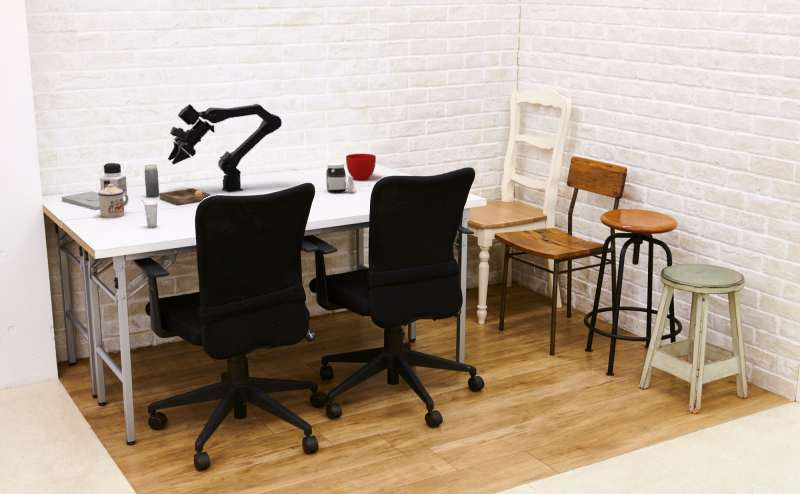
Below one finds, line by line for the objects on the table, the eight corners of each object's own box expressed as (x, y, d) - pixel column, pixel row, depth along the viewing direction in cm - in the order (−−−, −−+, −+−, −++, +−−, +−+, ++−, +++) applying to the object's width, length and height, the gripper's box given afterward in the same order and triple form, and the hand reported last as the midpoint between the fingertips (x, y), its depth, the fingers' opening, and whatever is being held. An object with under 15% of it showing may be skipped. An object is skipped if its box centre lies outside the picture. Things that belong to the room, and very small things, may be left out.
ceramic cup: (381, 174, 460) (381, 152, 458) (371, 182, 444) (371, 159, 442) (353, 173, 463) (353, 151, 460) (342, 181, 447) (342, 158, 445)
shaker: (155, 194, 421) (153, 164, 418) (161, 196, 417) (159, 165, 414) (143, 196, 418) (141, 165, 415) (149, 198, 414) (147, 167, 411)
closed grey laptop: (96, 212, 394) (126, 206, 404) (95, 206, 394) (126, 200, 404) (62, 201, 410) (92, 195, 419) (61, 196, 409) (92, 190, 419)
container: (118, 197, 416) (116, 165, 412) (101, 196, 417) (98, 164, 414) (127, 193, 423) (125, 162, 419) (109, 192, 424) (107, 161, 421)
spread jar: (324, 189, 431) (324, 161, 428) (351, 188, 433) (351, 160, 430) (330, 195, 419) (329, 167, 416) (357, 194, 422) (357, 165, 419)
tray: (192, 194, 421) (192, 188, 421) (210, 200, 411) (210, 194, 410) (159, 199, 413) (159, 193, 412) (177, 205, 402) (176, 199, 401)
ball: (200, 197, 413) (200, 189, 412) (204, 198, 411) (203, 190, 410) (193, 198, 411) (192, 190, 410) (197, 199, 409) (196, 191, 408)
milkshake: (144, 224, 372) (142, 197, 369) (159, 224, 372) (157, 197, 370) (142, 227, 368) (140, 200, 365) (157, 227, 368) (156, 199, 365)
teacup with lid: (109, 219, 380) (107, 188, 377) (94, 215, 386) (92, 184, 383) (136, 213, 389) (134, 182, 386) (121, 209, 395) (119, 179, 392)
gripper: (177, 116, 423) (151, 144, 422) (186, 122, 406) (159, 152, 405) (197, 134, 428) (172, 162, 427) (206, 141, 411) (180, 170, 410)
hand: (170, 161), depth 417 cm, fingers open, 9 cm apart
